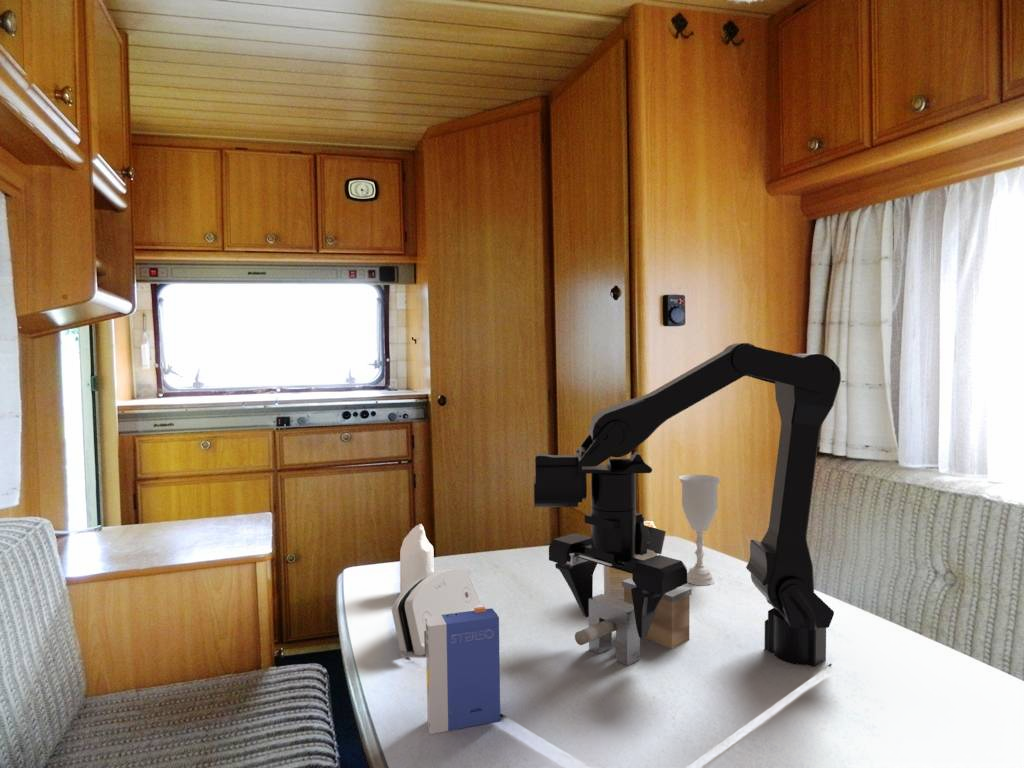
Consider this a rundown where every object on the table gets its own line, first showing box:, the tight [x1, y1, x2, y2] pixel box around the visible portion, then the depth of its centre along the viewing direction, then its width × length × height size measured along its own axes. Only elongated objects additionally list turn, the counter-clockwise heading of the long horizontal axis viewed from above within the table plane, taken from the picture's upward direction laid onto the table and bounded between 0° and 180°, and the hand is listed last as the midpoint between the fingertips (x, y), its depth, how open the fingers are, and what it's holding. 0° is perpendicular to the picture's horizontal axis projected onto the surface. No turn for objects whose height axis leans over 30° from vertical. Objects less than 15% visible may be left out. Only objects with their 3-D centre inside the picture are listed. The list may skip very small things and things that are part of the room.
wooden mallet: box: [574, 578, 693, 649], centre depth 90 cm, size 18×8×8 cm, turn 132°
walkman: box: [424, 606, 501, 735], centre depth 74 cm, size 8×3×12 cm, turn 107°
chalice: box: [678, 474, 721, 586], centre depth 118 cm, size 7×7×18 cm
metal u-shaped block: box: [588, 593, 641, 666], centre depth 88 cm, size 6×2×7 cm, turn 42°
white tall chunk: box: [399, 523, 435, 595], centre depth 113 cm, size 6×12×6 cm
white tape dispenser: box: [391, 568, 489, 659], centre depth 97 cm, size 17×5×10 cm, turn 153°
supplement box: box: [603, 520, 658, 602], centre depth 107 cm, size 8×5×13 cm, turn 84°
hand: (614, 626), depth 88 cm, fingers open, 9 cm apart
